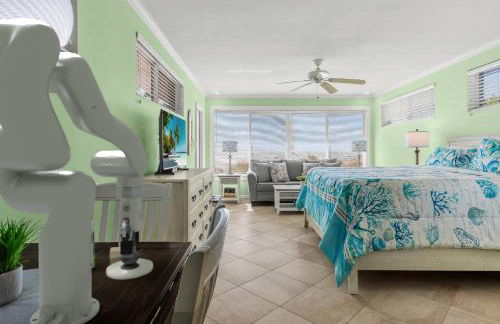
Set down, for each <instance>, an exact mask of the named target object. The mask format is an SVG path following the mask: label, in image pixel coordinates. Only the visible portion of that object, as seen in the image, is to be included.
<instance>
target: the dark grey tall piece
mask: <svg viewBox="0 0 500 324" xmlns="http://www.w3.org/2000/svg"><path fill="white" fill-rule="evenodd" d="M128 230H131V229H128ZM128 234H129V233H128ZM131 240H133V253H132V254H129V255H121V254H120V258H121V261H122V262H123V263H124V264H123V265H122V266H121V269H123V270H131V269H135V268H137V267H139V264H138V263H136V262H137V261H138V259H140V256H141V252H140V251H137V248H136V245H137V244H136V242H137V241H135V231H133V232H132V238H131Z"/></svg>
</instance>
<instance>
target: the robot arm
mask: <svg viewBox="0 0 500 324" xmlns="http://www.w3.org/2000/svg"><path fill="white" fill-rule="evenodd" d="M61 48H62V47H61V41H60V38H59V36H58V33H57V32H56V30H55V29H54V28H53V27H52V26H51V25H49V24H48V23H46V22H44V21H43V20H42V21H41V20H39V19H38V20H36V19H31V18H12V19H0V197H1V199H2V200H3V201H4V202H5V204H6V205H7V206H8V207H9V208H11V209H12V210H14V211H16V212H19V213H25V214H26V213H27V214H43V215H48V217H47V219H46V221H45V223H44V225H42V228H41V230H40V233H39V236H38V304H39V305H38V307H39V308H38V310H36V311H35V312H34V313H33V314H32V315H31V316H30V319H29V324H85V323H87V322H89V321H90V320H92V319H93V318H94V317H95V316H96V315H98V313H99V312H100V302H99V300H98V299H96V298H94V297H92V268H91V223H92V221H93V214H94V213H93V211H94V206H95V203H96V199H97V198H96V197H97V185H96V182H95V181H96V180H94V179H93V177H92V176H91V175H90V174H88V173H86V172H84V171H81V170H77V169H67V168H66V169H64V167H65V166H67V165H68V163H70V160H71V158H72V150H71V149H72V148H71V145H70V143H69V140H68V138H67V135H66V133H65V132H64V129H63V127H62V124H61V122H60V120H59V118H58V114H56V113H57V112H56V111H55V109H54V107H53V103H52V100H51V97H50V94H56V95H57V97H58V98H59V100H60V102H61V104H62V105H63V107H64V108H63V109H65V111H66V112H67V115H68V117H69V118H70V120H71V122H72V124H73V125H74V126H75V128H77V129H78V130H80V131H82V132H84V133H86V134H88V135H92V136H93V137H96V138H98V139H99V138H100V139H101V140H104V141H106V142H109V143H111V144H112V145H114V146H115V147H116V148H118V149H103V150H99V151H97V152H96V153H94V154H93V155H92V157H91V159H90V162H89V164H90V166H89V167H90V169H91V170H92V172H93V173H94V174H95V175H96V176H99V177H101V178H116V199H119V209H118V210H119V211H118V217H119V218H118V227H119V229H118V230H119V232H120V238H119V240H120V241H119V243H120V254H121V255H129V254H132V253H133V240H131V238H132V232H133V231H135V241H137V242H136V245H139V244H140V229H141V227H142V226H143V204H142V198H145V197H144V194H145V193H144V187H145V186H144V183H145V181H144V175H145V173H146V172H147V169H148V158H147V154H146V152H145V149H144V146H143V144H142V141H141V139H140V137H139V136H138V135H137V134H136V132H135V131H134V130H133V129H131V128H130V127H129V126H128V125H127V124H126V123H125V122H123V121H122V120H121V119H119V118H118V117H117V116H115V115H114V114H112V112H111V111H110V109H109V106H108V104H107V102H106V100H105V98H104V95H103V92H102V91H101V89H100V86H99V84H98V82H97V79H96V77H95V74H94V73H93V70H92V68H91V66H90V65H89V63H88V61H87V60H86V59H85V58H84V57H83V56H82V55H79V54H77V53H74V52H63V51H61ZM129 229H131V230H129ZM128 233H129V234H128Z"/></svg>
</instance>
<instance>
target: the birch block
mask: <svg viewBox="0 0 500 324" xmlns="http://www.w3.org/2000/svg"><path fill="white" fill-rule="evenodd" d="M119 261H121V258H120V247H119V246H118V247H110V250H109V265H111V264H113V263H116V262H119Z"/></svg>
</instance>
